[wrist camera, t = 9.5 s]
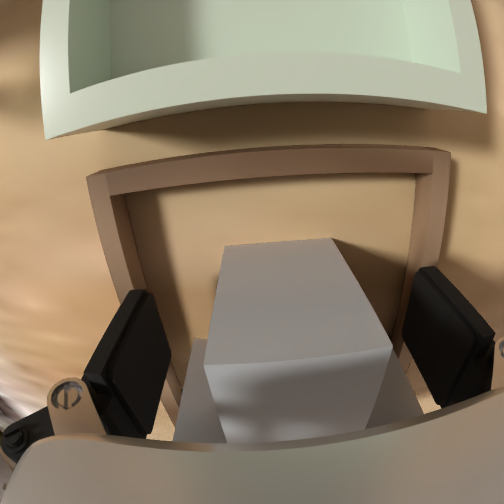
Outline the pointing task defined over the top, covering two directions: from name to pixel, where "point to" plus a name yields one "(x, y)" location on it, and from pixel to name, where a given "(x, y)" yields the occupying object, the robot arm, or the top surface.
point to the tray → (264, 165)
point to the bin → (251, 57)
